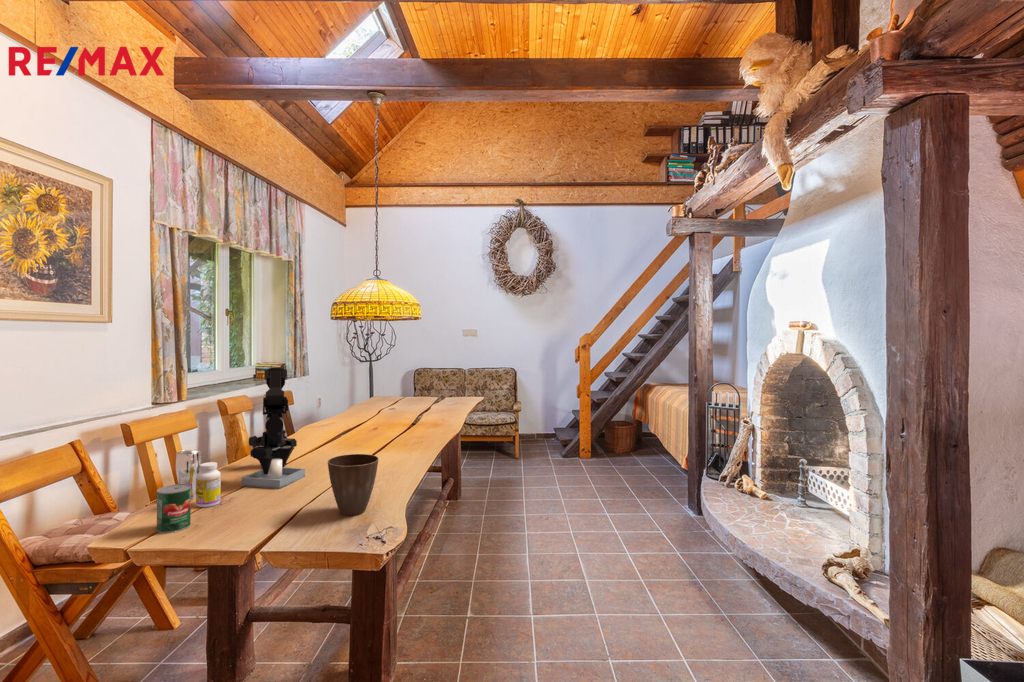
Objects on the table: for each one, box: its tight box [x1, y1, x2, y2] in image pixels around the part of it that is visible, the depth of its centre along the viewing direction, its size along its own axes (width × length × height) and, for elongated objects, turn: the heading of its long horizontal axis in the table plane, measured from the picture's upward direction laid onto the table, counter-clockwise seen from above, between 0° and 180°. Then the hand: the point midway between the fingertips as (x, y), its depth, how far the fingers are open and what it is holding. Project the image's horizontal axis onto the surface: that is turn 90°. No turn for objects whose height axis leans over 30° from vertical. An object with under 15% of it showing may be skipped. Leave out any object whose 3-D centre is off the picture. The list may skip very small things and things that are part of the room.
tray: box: [241, 466, 306, 490], centre depth 181 cm, size 15×15×3 cm
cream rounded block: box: [266, 459, 282, 479], centre depth 181 cm, size 5×5×7 cm
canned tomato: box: [156, 483, 192, 534], centre depth 138 cm, size 8×8×11 cm
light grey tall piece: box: [175, 449, 202, 500], centre depth 162 cm, size 7×7×15 cm
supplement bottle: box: [195, 461, 222, 508], centre depth 156 cm, size 7×7×13 cm
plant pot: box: [327, 453, 379, 516], centre depth 152 cm, size 15×15×16 cm
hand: (274, 470), depth 181 cm, fingers open, 9 cm apart
